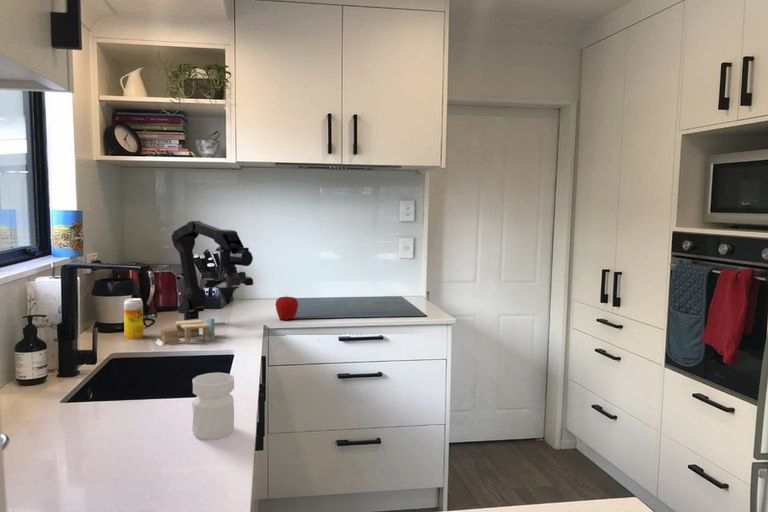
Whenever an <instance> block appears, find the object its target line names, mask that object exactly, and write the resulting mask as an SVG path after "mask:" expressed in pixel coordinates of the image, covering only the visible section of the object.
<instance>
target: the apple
mask: <svg viewBox="0 0 768 512" xmlns="http://www.w3.org/2000/svg"><path fill="white" fill-rule="evenodd" d="M298 307H299V302H298V299H296V297H293V296H288V295H285V296H281V297H278V298H277V299H276V300H275V311H276V313H277V315H278V318H279V319H280V320H282V319H284V320H283V321H289V320H288V319H291V320H292V319H294V318H295V317H296V315H297V313H298Z"/></svg>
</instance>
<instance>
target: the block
mask: <svg viewBox="0 0 768 512" xmlns="http://www.w3.org/2000/svg"><path fill="white" fill-rule="evenodd" d="M159 334H160V336H159V337H160V338H159V340H161V341H162V342H164V344H169V345H172V344H171V343H176V344H179V343H178V339H179V338H178V330H177V329H175V327H167V328H166V327H165V328H160V331H159Z"/></svg>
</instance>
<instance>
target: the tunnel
mask: <svg viewBox="0 0 768 512" xmlns="http://www.w3.org/2000/svg"><path fill="white" fill-rule="evenodd" d="M174 324H175V327H174V328H175V329H177V330H178V339H180V338H185V342H184V344H186V345H191V344H192V341H191V337H195V336H200V329H202V336H203V340H202V341H203V342H210V339H209V324H207V323H206V321H205V322H204V321H203V320H201V319H200V318H199V319H192V320H184V319H183V320H176V321H175V323H174Z"/></svg>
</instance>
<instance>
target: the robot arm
mask: <svg viewBox="0 0 768 512" xmlns="http://www.w3.org/2000/svg"><path fill="white" fill-rule="evenodd" d="M200 235H202V236H205V237H206V238H209V239H212V240H213V241H214V243H216V244H217V245H219V246H218V247H216V249H215V251H216V252H219V265H218V269H219V275H218V279H215V278H208V277H207V278H206V277H205V278H201V280H200V281H198V275H197V269H196V263H195V257H194V253H193V251H194V247H195V246H196V239H197V238H198V237H199V236H200ZM171 241H172V244H173V247H174V248H175V250H176V251H177V252H178V253H179V257H180V263H181V269H182V271H181V272H182V276H183V281H184V287H185V288H184V291H183V294H182V301H181V303H180V305H179V306H178V307H177V311H178V313H179V314H182V315H183V320H192V319H199V320H200V312H204V311H205V307H206V304H207V299H208V298H207V295H206V290H205V289H212V288H217V289H218V290H219V292H220V294H221V296H222V299H223V301H224V304H225V305H227V306H228V305H229V304H230V301H231V299H232V297H233V295H234V293H235V290H237V289H239V288H240V286H241V284H243V285H244V286H245V287H247V286H254V279H253V278H252V276H251V277H250V276H247V273H246V272H245V271H240V272H238V269H237V266H240V267H241V266H242V267H249V266H251V264H252V262H253V260H254V257H253V255H252V252H251V251H250V247H245V246H244V245H243V244H244V243H243V242H242V241H241V239H240V236H239V235H238V231H236V230H231V229H221V228H218V227H215V226H213V225H209V224H206V223H204V222H202V221H200V220H191V221H189V222H187V223H186V224H185V225H182V226H181V227H178V228H177V229H176V230H174V231H173V233H172V234H171ZM199 282H200V284H199ZM199 285H200V286H199ZM201 287H202V288H203V289H202V288H201Z"/></svg>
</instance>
